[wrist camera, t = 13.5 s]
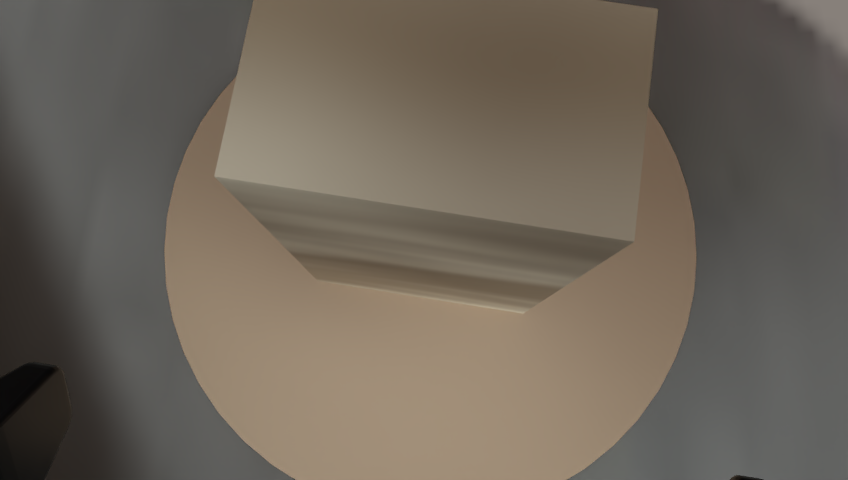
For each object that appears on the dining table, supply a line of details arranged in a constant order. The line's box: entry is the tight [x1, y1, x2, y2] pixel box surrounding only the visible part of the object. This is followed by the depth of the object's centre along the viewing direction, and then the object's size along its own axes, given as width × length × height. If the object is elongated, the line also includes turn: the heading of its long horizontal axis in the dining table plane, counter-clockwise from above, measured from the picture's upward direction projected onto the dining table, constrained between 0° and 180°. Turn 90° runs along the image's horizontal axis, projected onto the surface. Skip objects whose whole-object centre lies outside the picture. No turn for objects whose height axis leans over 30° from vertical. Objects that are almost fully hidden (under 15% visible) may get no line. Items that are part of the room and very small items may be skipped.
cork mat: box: [164, 77, 697, 480], centre depth 18 cm, size 13×13×1 cm
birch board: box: [214, 0, 658, 314], centre depth 13 cm, size 3×5×9 cm, turn 81°
